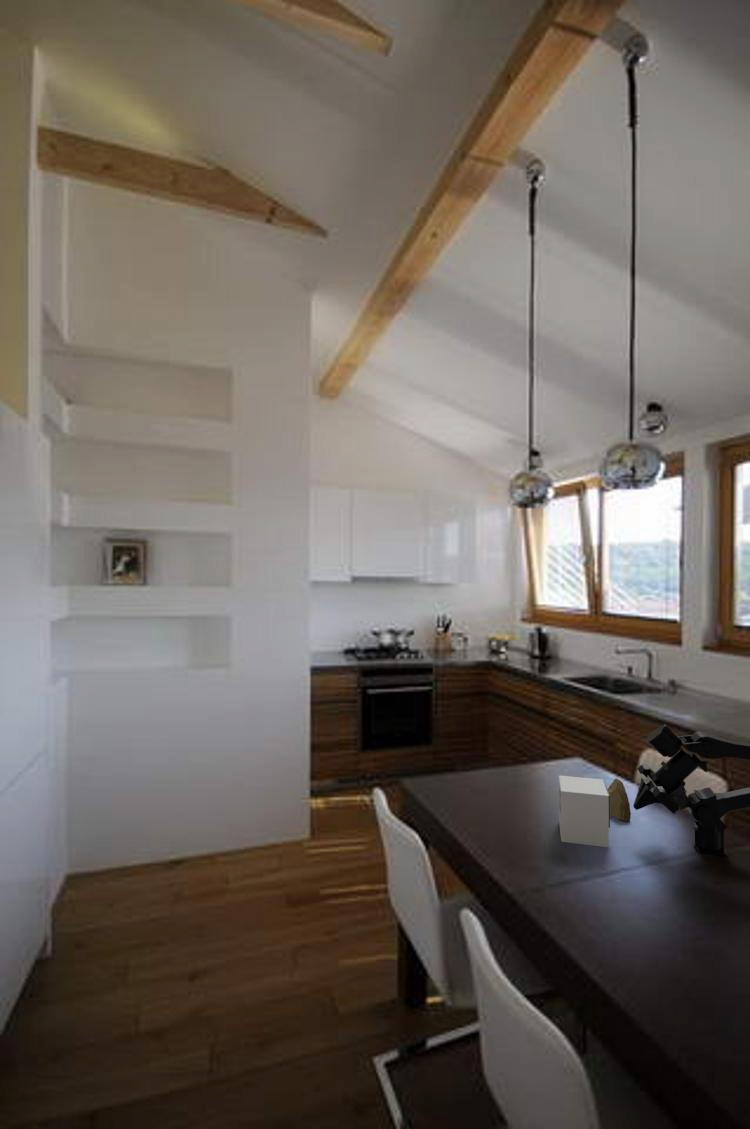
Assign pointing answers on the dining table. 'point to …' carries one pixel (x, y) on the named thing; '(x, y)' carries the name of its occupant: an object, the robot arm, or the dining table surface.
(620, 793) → the rock
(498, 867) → the dining table surface
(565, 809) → the off-white upright box
